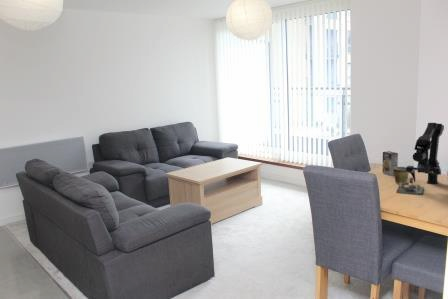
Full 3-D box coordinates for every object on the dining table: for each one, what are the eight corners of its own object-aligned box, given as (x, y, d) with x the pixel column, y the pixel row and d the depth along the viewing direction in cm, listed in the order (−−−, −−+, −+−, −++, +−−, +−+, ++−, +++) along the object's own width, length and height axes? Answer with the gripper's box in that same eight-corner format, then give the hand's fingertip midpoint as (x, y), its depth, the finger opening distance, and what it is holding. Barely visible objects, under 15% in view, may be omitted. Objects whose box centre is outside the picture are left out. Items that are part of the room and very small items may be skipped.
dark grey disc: (415, 189, 239) (415, 181, 238) (403, 188, 243) (403, 180, 242) (417, 185, 247) (417, 178, 246) (405, 184, 251) (405, 177, 250)
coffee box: (382, 172, 291) (382, 151, 289) (389, 171, 293) (389, 150, 290) (390, 175, 283) (390, 153, 280) (397, 174, 285) (398, 152, 282)
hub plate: (399, 186, 254) (399, 182, 253) (423, 188, 246) (423, 184, 246) (396, 192, 242) (396, 187, 242) (421, 194, 235) (421, 190, 234)
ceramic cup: (410, 184, 257) (411, 169, 255) (394, 184, 259) (394, 170, 257) (405, 179, 270) (406, 165, 268) (390, 179, 272) (390, 165, 270)
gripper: (405, 160, 239) (404, 184, 242) (439, 162, 229) (438, 187, 232) (407, 156, 248) (406, 180, 251) (440, 158, 239) (439, 182, 241)
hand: (422, 182), depth 244 cm, fingers open, 8 cm apart
